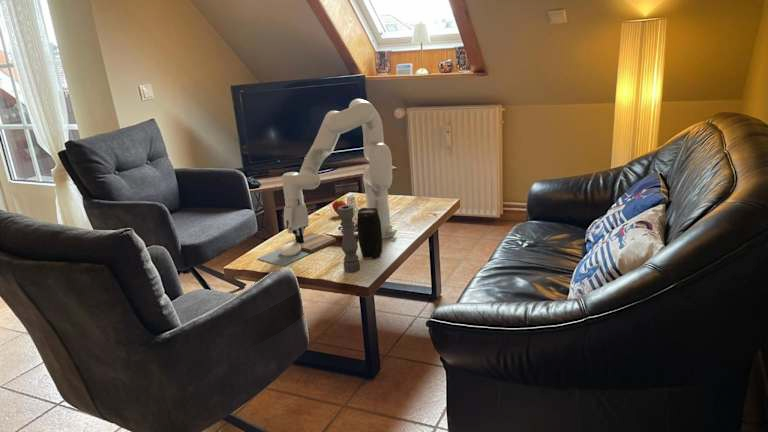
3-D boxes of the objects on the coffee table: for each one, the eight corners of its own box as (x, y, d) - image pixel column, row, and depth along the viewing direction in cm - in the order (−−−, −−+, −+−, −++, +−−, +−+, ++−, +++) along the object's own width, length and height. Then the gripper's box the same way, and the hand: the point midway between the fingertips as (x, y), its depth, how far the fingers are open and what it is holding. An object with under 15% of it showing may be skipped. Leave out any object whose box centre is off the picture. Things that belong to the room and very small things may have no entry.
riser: (336, 241, 242) (335, 238, 242) (311, 253, 232) (310, 249, 231) (310, 236, 252) (310, 232, 252) (285, 247, 242) (285, 243, 241)
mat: (310, 254, 231) (310, 253, 231) (282, 266, 220) (282, 265, 220) (285, 247, 241) (284, 246, 241) (257, 259, 230) (257, 258, 230)
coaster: (306, 247, 233) (304, 244, 233) (290, 258, 228) (289, 254, 227) (291, 244, 239) (290, 240, 238) (276, 254, 233) (275, 250, 232)
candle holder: (344, 267, 215) (336, 205, 207) (360, 265, 215) (353, 204, 207) (344, 273, 209) (337, 210, 201) (360, 272, 209) (354, 208, 201)
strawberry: (337, 213, 282) (335, 194, 279) (350, 214, 278) (347, 195, 275) (330, 217, 277) (328, 197, 274) (343, 218, 273) (341, 199, 270)
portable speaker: (358, 254, 226) (353, 208, 220) (380, 250, 228) (376, 205, 222) (363, 261, 218) (358, 214, 212) (386, 257, 220) (381, 211, 214)
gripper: (301, 196, 239) (306, 236, 245) (274, 205, 228) (280, 247, 234) (313, 198, 234) (318, 238, 240) (286, 208, 224) (292, 250, 229)
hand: (300, 242), depth 237 cm, fingers closed
